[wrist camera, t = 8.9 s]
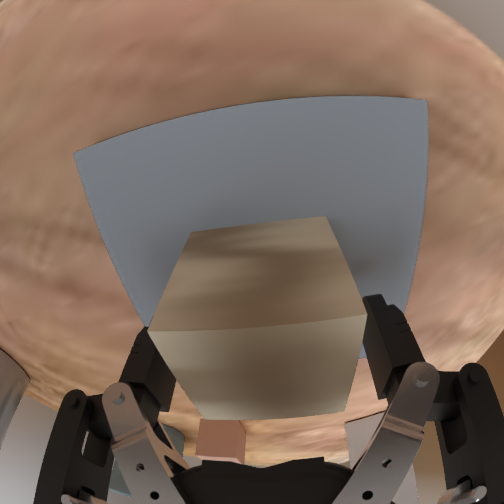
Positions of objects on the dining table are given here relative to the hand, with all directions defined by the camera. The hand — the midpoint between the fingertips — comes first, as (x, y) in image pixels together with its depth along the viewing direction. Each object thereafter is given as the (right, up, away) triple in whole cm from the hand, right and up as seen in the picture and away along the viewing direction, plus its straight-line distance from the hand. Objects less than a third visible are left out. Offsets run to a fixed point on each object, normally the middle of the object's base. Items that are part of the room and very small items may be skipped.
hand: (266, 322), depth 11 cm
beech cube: (0, +2, +2) cm, 3 cm away
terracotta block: (-4, -18, +17) cm, 26 cm away
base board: (0, +3, +4) cm, 5 cm away
